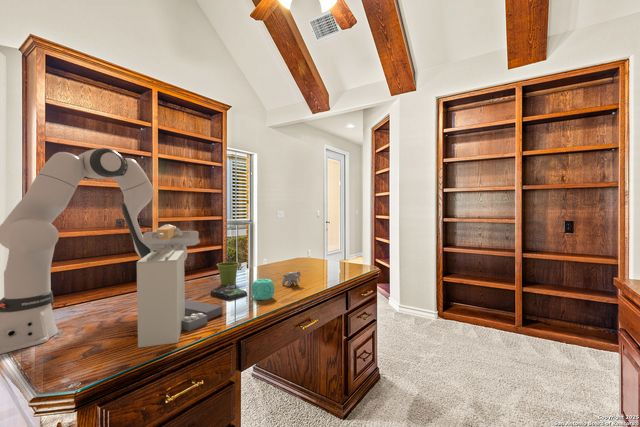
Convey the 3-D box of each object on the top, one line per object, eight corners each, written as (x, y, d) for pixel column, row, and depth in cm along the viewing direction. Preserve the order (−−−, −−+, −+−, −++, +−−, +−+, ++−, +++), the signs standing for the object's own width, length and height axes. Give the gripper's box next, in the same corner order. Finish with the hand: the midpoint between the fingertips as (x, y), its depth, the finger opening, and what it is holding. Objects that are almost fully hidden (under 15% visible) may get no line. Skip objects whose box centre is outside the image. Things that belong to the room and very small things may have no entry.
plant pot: (232, 280, 179) (232, 260, 179) (243, 284, 171) (242, 263, 170) (213, 283, 171) (212, 263, 171) (222, 288, 163) (222, 266, 162)
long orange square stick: (163, 242, 96) (163, 231, 96) (151, 242, 95) (151, 231, 95) (175, 234, 124) (175, 225, 124) (166, 234, 123) (166, 226, 123)
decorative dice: (267, 294, 151) (267, 278, 151) (274, 298, 144) (274, 281, 144) (251, 297, 146) (251, 280, 146) (258, 301, 140) (258, 283, 140)
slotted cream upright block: (177, 342, 97) (176, 256, 97) (137, 347, 94) (136, 258, 93) (184, 318, 118) (184, 247, 118) (152, 321, 115) (151, 249, 114)
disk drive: (210, 296, 150) (229, 301, 141) (210, 290, 149) (229, 295, 141) (228, 291, 158) (247, 296, 149) (228, 286, 158) (247, 290, 149)
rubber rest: (206, 320, 116) (206, 312, 116) (170, 312, 125) (170, 304, 125) (222, 313, 123) (222, 306, 123) (187, 306, 132) (187, 299, 132)
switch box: (189, 331, 106) (189, 320, 106) (179, 328, 108) (179, 317, 108) (207, 323, 113) (207, 313, 113) (197, 321, 116) (197, 310, 116)
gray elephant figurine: (289, 283, 174) (288, 269, 174) (307, 284, 168) (306, 270, 168) (279, 287, 166) (278, 272, 166) (298, 288, 160) (297, 273, 160)
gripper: (200, 250, 133) (198, 236, 121) (146, 252, 127) (139, 238, 115) (200, 236, 136) (198, 222, 124) (148, 238, 130) (141, 222, 118)
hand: (169, 229), depth 120 cm, fingers closed on long orange square stick, 3 cm apart
